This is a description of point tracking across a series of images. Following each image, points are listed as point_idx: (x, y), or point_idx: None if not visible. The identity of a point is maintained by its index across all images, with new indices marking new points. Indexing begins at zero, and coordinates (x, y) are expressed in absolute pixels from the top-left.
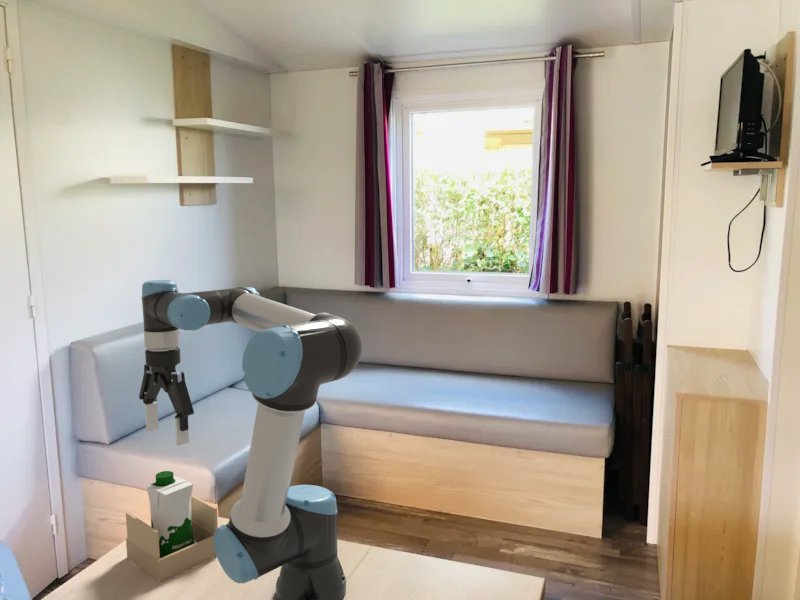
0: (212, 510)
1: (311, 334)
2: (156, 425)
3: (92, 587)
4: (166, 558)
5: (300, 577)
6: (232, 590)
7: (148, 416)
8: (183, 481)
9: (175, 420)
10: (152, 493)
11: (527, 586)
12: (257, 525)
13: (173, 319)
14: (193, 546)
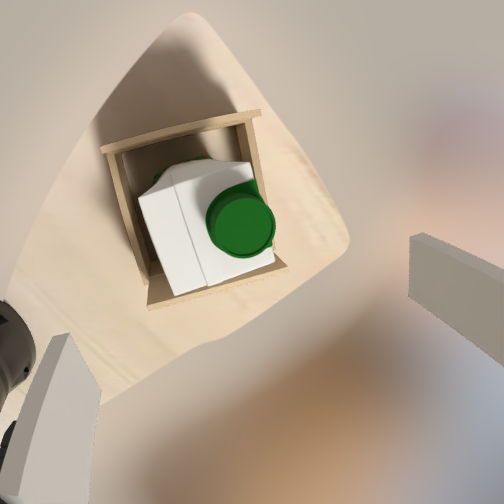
0: (156, 299)
1: None
2: (422, 295)
3: (172, 45)
4: (109, 164)
5: None
6: (30, 250)
7: (476, 278)
8: (206, 274)
9: (19, 468)
10: (206, 169)
11: None
12: None
13: None
14: (125, 225)
